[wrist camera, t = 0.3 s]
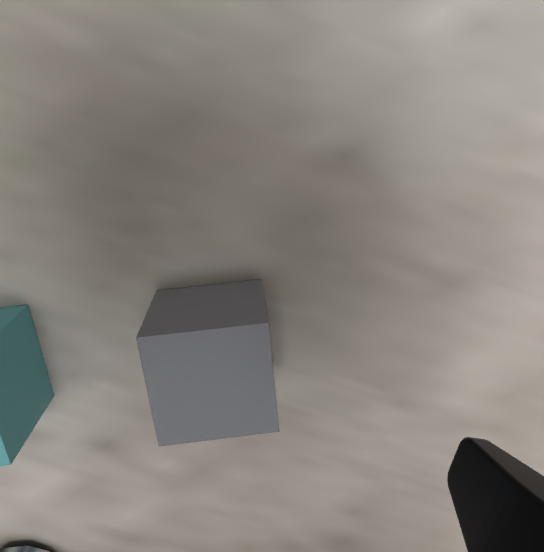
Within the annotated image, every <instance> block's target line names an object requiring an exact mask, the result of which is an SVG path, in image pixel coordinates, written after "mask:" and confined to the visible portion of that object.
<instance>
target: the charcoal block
mask: <svg viewBox="0 0 544 552" xmlns="http://www.w3.org/2000/svg"><path fill="white" fill-rule="evenodd" d="M136 339H137V344H138V349H139V353H140V358H141V363H142V368H143V373H144V377H145V382H146V387H147V392H148V397H149V401H150V406H151V411H152V416H153V421H154V425H155V430H156V435H157V440H158V445H159V446H166V445H174V444H182V443H190V442H198V441H206V440H214V439H222V438H230V437H238V436H246V435H254V434H262V433H270V432H279V422H278V412H277V402H276V392H275V382H274V372H273V362H272V352H271V342H270V332H269V322H268V316H267V310H266V304H265V298H264V292H263V286H262V280H261V279H258V280H249V281H239V282H230V283H221V284H212V285H203V286H194V287H185V288H175V289H166V290H157V291H156V293H155V295H154V298H153V300H152V302H151V305H150V307H149V309H148V312H147V314H146V316H145V319H144V321H143V323H142V326H141V328H140V330H139V333H138V335H137V337H136Z"/></svg>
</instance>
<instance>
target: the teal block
mask: <svg viewBox="0 0 544 552" xmlns="http://www.w3.org/2000/svg"><path fill="white" fill-rule="evenodd" d="M53 397H54V393H53V389H52V386H51V382H50V379H49V376H48V372H47V369H46V365H45V362H44V358H43V355H42V351H41V348H40V344H39V341H38V337H37V334H36V330H35V327H34V323H33V320H32V317H31V313H30V310H29V306H28V305H20V306H11V307H2V308H0V466H4V465H11V463H12V462H13V460H14V459H15V457H16V455H17V454H18V452H19V451H20V449H21V448H22V446H23V444H24V443H25V441H26V440H27V438H28V436H29V435H30V433H31V432H32V430H33V428H34V427H35V425H36V424H37V422H38V420H39V419H40V417H41V416H42V414H43V413H44V411H45V409H46V408H47V406H48V405H49V403H50V401H51V400H52V398H53Z"/></svg>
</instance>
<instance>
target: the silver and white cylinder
mask: <svg viewBox="0 0 544 552" xmlns="http://www.w3.org/2000/svg"><path fill="white" fill-rule="evenodd" d="M0 552H50V551H47V550H43V549H39V548H35V547H31V546H19V547H10V548H4V549H3V550H1V551H0Z"/></svg>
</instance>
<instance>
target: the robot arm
mask: <svg viewBox="0 0 544 552" xmlns="http://www.w3.org/2000/svg"><path fill="white" fill-rule="evenodd" d="M448 487H449V490H450V494H451V497H452V500H453V504H454V507H455V510H456V514H457V517H458V520H459V523H460V527H461V530H462V533H463V537H464V540H465V543H466V547H467V550H468V552H544V476H542V475H541V474H539V473H538V472H536V471H535V470H533V469H532V468H530V467H528V466H527V465H525V464H524V463H522V462H521V461H519V460H517V459H516V458H514V457H513V456H511V455H510V454H508V453H507V452H505V451H503V450H502V449H500V448H499V447H497V446H496V445H494V444H493V443H491V442H489V441H487V440H485V439H478V438H471V437H466V438H464V439H463V440H462V441H461V442H460V444H459V446H458V449H457V451H456V454H455V456H454V459H453V461H452V464H451V466H450V469H449V472H448Z"/></svg>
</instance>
